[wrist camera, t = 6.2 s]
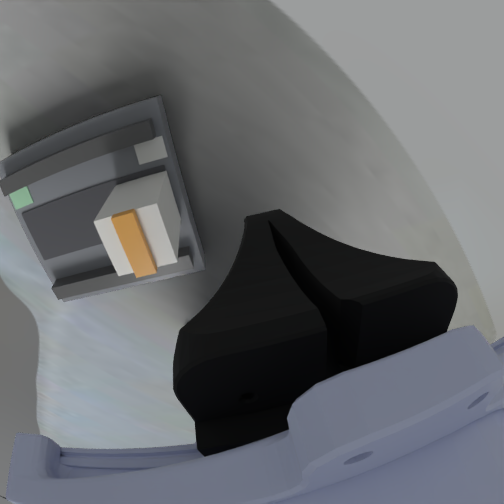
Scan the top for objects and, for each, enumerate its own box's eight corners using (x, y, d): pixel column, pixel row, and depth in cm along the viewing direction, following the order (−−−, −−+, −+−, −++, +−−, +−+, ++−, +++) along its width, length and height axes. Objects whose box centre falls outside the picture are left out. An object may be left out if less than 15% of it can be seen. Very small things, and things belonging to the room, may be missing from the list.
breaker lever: (181, 219, 18) (177, 268, 14) (133, 231, 18) (117, 282, 14) (166, 169, 16) (155, 206, 12) (115, 184, 16) (90, 224, 12)
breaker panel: (204, 253, 22) (206, 279, 19) (70, 285, 21) (60, 311, 19) (161, 94, 16) (153, 98, 13) (11, 154, 15) (-13, 170, 13)
